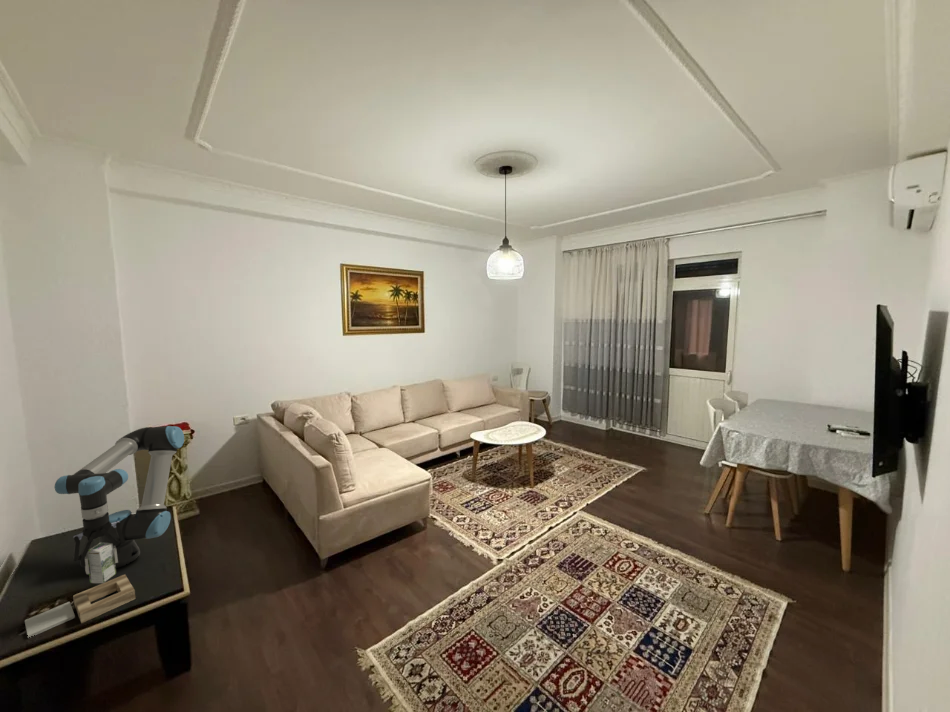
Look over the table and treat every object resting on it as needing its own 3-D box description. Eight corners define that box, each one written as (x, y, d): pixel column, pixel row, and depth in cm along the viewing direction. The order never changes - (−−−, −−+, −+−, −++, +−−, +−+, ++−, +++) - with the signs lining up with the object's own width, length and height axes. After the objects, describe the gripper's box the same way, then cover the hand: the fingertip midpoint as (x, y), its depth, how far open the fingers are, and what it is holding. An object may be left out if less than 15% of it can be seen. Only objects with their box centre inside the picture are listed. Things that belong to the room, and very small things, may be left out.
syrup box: (103, 573, 160) (99, 542, 158) (117, 573, 160) (113, 542, 158) (89, 583, 154) (84, 551, 152) (103, 583, 154) (99, 551, 152)
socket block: (74, 604, 156) (73, 595, 155) (125, 582, 168) (125, 574, 168) (81, 623, 146) (80, 614, 146) (135, 598, 159) (134, 590, 158)
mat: (24, 622, 146) (24, 620, 146) (69, 603, 156) (69, 601, 156) (28, 638, 139) (27, 636, 139) (74, 617, 149) (74, 615, 149)
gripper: (59, 530, 143) (67, 585, 145) (131, 507, 159) (137, 557, 162) (56, 523, 147) (64, 577, 150) (127, 502, 163) (132, 550, 166)
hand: (102, 566), depth 156 cm, fingers closed on syrup box, 8 cm apart
